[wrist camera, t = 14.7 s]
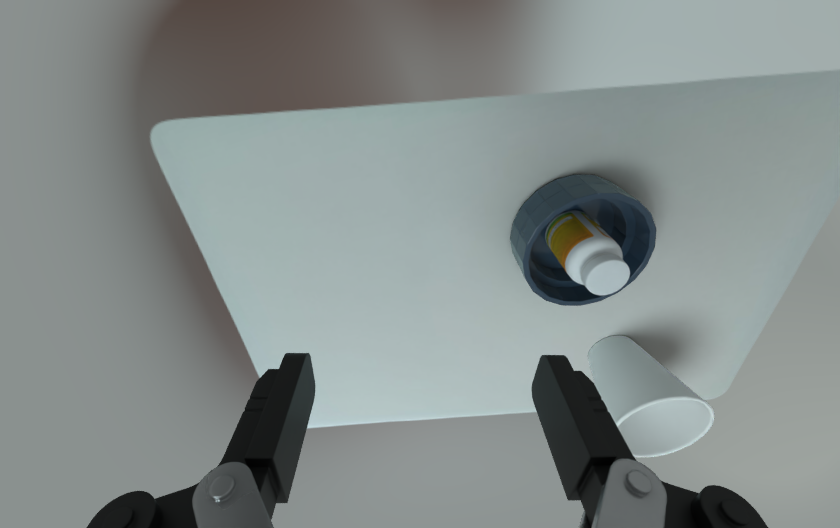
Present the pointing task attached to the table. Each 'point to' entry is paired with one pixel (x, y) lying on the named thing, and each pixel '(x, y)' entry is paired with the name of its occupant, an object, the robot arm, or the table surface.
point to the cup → (647, 399)
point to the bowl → (602, 205)
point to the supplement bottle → (587, 252)
